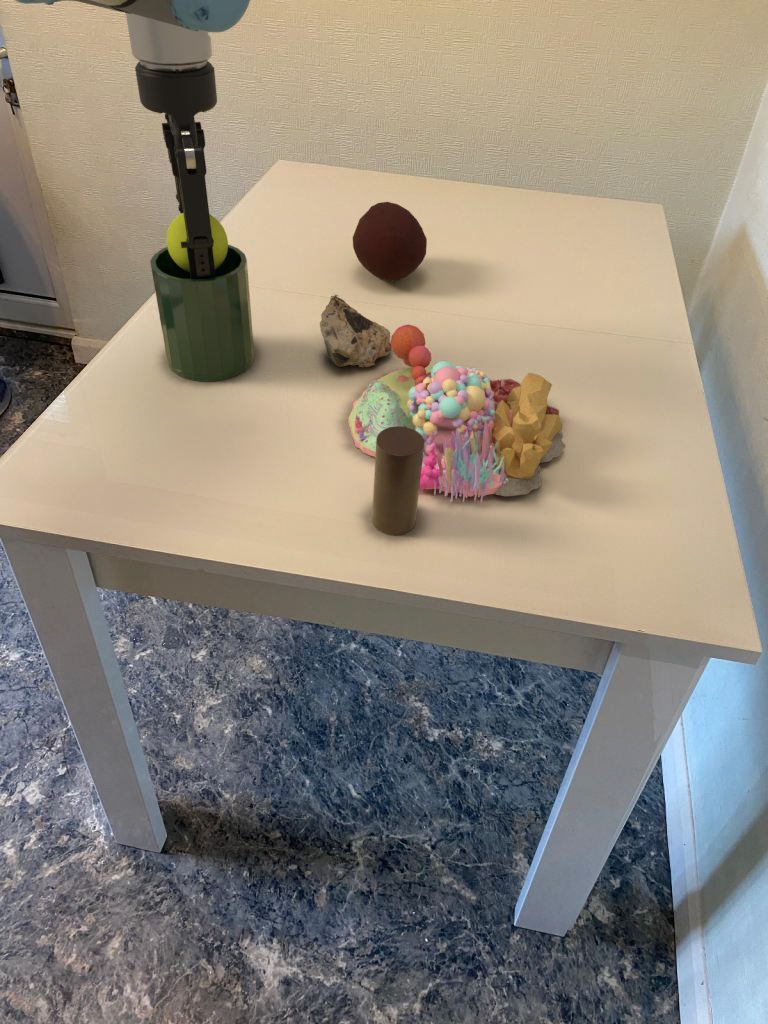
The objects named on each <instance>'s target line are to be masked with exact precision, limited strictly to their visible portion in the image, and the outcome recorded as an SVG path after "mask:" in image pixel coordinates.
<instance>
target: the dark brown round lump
mask: <svg viewBox="0 0 768 1024" xmlns="http://www.w3.org/2000/svg"><path fill="white" fill-rule="evenodd" d="M426 236H427V235H426V234H425V231H424V230H423V228H422V226H421V224H420V222H419V220H418V219H417V218H416V217H415V215H413V213H412V212H411V211H410V210H408V209H407V208H405V207H403V206H402V205H399V204H398V203H394V202H390V201H383V202H377V203H376V204H374V205H371V206H370V207H369V209H368V210H367V211H365V213H364V214H363V215H362V216H361V217H360V218H359V219H358V222H357V225H356V227H355V230H354V233H353V235H352V249H353V251H354V254H355V256H356V258H357V260H358V262H359V263H360V264H361V266H362V267H363V268H364V269H365V270H366V271H367V272H369V273H370V274H371V275H372V276H374V277H376V278H378V279H380V280H382V281H385V282H397V281H400V280H403V279H406V278H407V277H408V276H410V275H412V273H414V272H415V271H416V270H417V268H418V267H419V266H420V265H421V264H422V263H423V261H424V260H425V257H426V255H427V245H428V238H427V237H426Z"/></svg>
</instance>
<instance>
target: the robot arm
mask: <svg viewBox="0 0 768 1024" xmlns="http://www.w3.org/2000/svg"><path fill="white" fill-rule="evenodd" d="M14 1H15V2H18V3H21V4H25V5H29V4H45V5H47V6H52V5H54V4H55V3H57V2H64V1H68V2H70V1H71V2H78V3H83V4H87V5H91V6H95V7H99V8H104V9H108V10H111V11H116V12H120V13H124V14H125V19H126V25H127V30H128V36H129V41H130V50H131V55H132V56H133V57H134V58H135V59H136V60H138V61H137V63H136V65H135V67H134V70H135V71H134V72H135V77H136V83H137V90H138V95H139V101H140V104H141V105H142V106H143V108H145V109H146V110H148V111H150V112H153V113H157V114H164V120H166V122H161V126H162V127H161V128H162V129H161V130H162V135H163V140H164V142H165V147H166V149H167V156H168V160H169V163H170V166H171V172H172V175H173V177H174V183H175V190H176V194H175V199H176V201H177V203H178V206H177V208H178V211H179V215H180V214H182V213H183V214H184V220H185V227H186V234H187V239H186V241H185V242H181V248H187V253H188V261H189V268H190V275H191V279H210V278H215V277H216V275H215V266H214V257H213V248H212V247H213V246H214V244H213V243H214V239H213V238H212V232H211V223H210V215H211V214H210V208H209V200H208V199H209V198H208V191H207V190H208V189H207V183H206V175H207V165H206V157H205V147H206V139H205V131H204V129H203V128H202V123H201V121H196V120H195V117H196V115H197V114H199V113H207V112H209V111H210V110H213V109H214V108H215V107H216V106H217V103H218V95H217V83H216V82H217V81H216V72H215V71H216V70H215V67H214V66H213V64H212V63H211V62H210V61H209V60H210V59H211V58H212V56H213V47H212V38H211V36H210V35H209V33H223V32H226V31H228V30H230V29H232V28H234V27H235V26H236V25H237V24H238V23H239V22H240V21H241V20H242V18H243V17H244V15H245V14H246V12H247V9H248V8H249V5H250V2H251V0H14ZM209 214H210V215H209ZM188 273H189V272H188Z"/></svg>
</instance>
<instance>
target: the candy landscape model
mask: <svg viewBox="0 0 768 1024" xmlns="http://www.w3.org/2000/svg"><path fill="white" fill-rule="evenodd" d="M390 343H391V348H392V350H391V352H393V354H394V355H395V356H397V358H398V359H400V360H402V361H403V364H404V365H405V366H406V367H402V368H399V369H398V370H395V371H394V370H393V371H390V372H388V373H387V374H386V375H384V376H382V377H379V378H378V379H375V380H372V381H370V383H369V384H368V386H367V387H366V389H365V390H363V391H362V394H361V395H360V396H359V398H358V399H355V401H354V402H353V403H352V410H351V411H350V414H349V415H348V418H347V421H348V427H349V430H350V433H351V437H352V439H353V443H354V445H355V447H356V448H357V449H359V450H361V452H362V453H363V454H366V455H368V456H371V457H373V458H375V456H376V439H377V436H378V434H379V433H380V432H381V431H383V430H384V429H387V428H390V427H396V426H400V427H407V428H411V429H413V430H415V431H417V432H419V433H420V434H421V435H422V437H423V439H424V452H423V461H422V470H421V479H420V488H419V491H420V490H421V491H422V490H434V492H433V496H436V495H437V493H436V492H437V490H438V493H439V494H441V493H442V492H444V496H445V497H448V495H449V494H450V503H453V501H454V499H456V500H457V499H458V496H459V497H462V503H464V502H465V498H466V499H468V497H473V496H474V499H473V501H476V500H477V497H478V498H480V503H483V499H484V497H486V496H488V495H497V496H502V497H514V496H515V497H516V496H523V495H529V494H530V492H531V491H532V490H537V489H539V487H540V486H541V485H542V484H543V481H542V478H541V477H540V474H541V473H542V471H543V470H542V468H541V466H540V463H546V462H547V463H548V462H551V461H552V460H553V458H557V457H559V456H560V455H561V453H563V450H564V449H565V448H566V444H565V443H564V441H563V438H564V435H563V432H562V429H563V423H562V420H561V418H560V409H558V408H556V407H553V406H550V405H548V396H549V394H550V391H551V389H552V386H553V384H552V383H551V382H550V381H549V380H547V379H546V378H545V377H544V376H541V375H539V374H537V373H536V374H535V373H533V372H532V373H531V372H528V373H526V375H525V376H524V377H523V378H522V380H521V382H518V381H515V380H514V379H511V378H503V379H493V378H491V377H488V376H487V374H486V373H485V372H484V371H482V370H480V369H478V368H476V367H471V366H469V367H467V368H466V366H463V365H457V366H455V365H454V364H453V363H452V362H450V361H447V360H441V361H438V362H436V363H435V364H434V365H433V366H432V367H431V366H429V365H431V362H432V353H431V351H430V350H429V347H427V346H426V338H425V335H424V333H423V331H422V330H421V329H420V328H419V327H418V326H415V325H413V324H404V325H401V326H398V327H397V328H396V329H395V330H394V332H393V333H392V335H391V336H390ZM407 366H408V367H407ZM458 493H459V494H458ZM454 497H455V498H454Z"/></svg>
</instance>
